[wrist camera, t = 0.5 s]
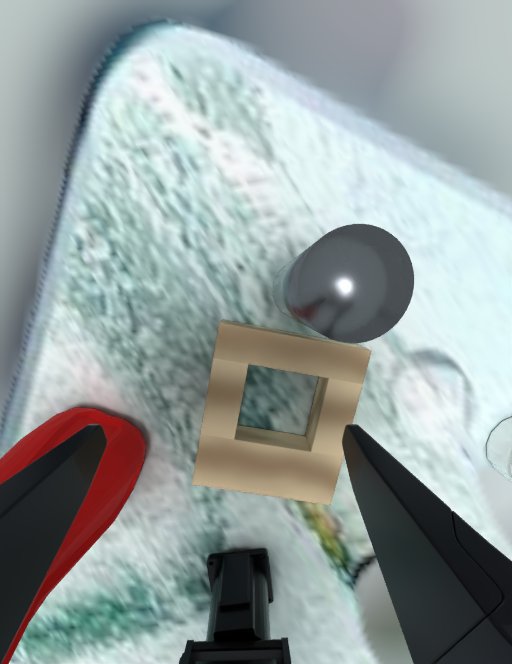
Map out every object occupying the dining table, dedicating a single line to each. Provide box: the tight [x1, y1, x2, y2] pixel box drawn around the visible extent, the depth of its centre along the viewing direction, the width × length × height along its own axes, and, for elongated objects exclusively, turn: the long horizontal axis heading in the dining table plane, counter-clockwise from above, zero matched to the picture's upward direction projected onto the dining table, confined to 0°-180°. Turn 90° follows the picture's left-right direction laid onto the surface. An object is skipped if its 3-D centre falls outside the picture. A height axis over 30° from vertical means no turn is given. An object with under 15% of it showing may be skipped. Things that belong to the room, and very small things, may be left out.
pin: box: [272, 224, 414, 343], centre depth 16 cm, size 5×5×12 cm
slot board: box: [192, 320, 371, 505], centre depth 23 cm, size 15×13×2 cm
